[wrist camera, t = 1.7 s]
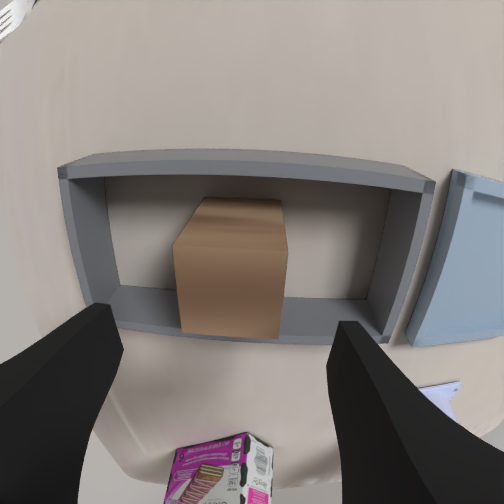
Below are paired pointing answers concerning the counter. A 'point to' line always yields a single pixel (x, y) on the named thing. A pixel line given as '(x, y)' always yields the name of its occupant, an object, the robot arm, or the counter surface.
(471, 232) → the light blue tray
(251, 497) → the candy bar box
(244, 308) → the walnut block
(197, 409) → the counter surface
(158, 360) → the counter surface
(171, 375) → the counter surface
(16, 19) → the fork
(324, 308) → the gray rectangular bin
